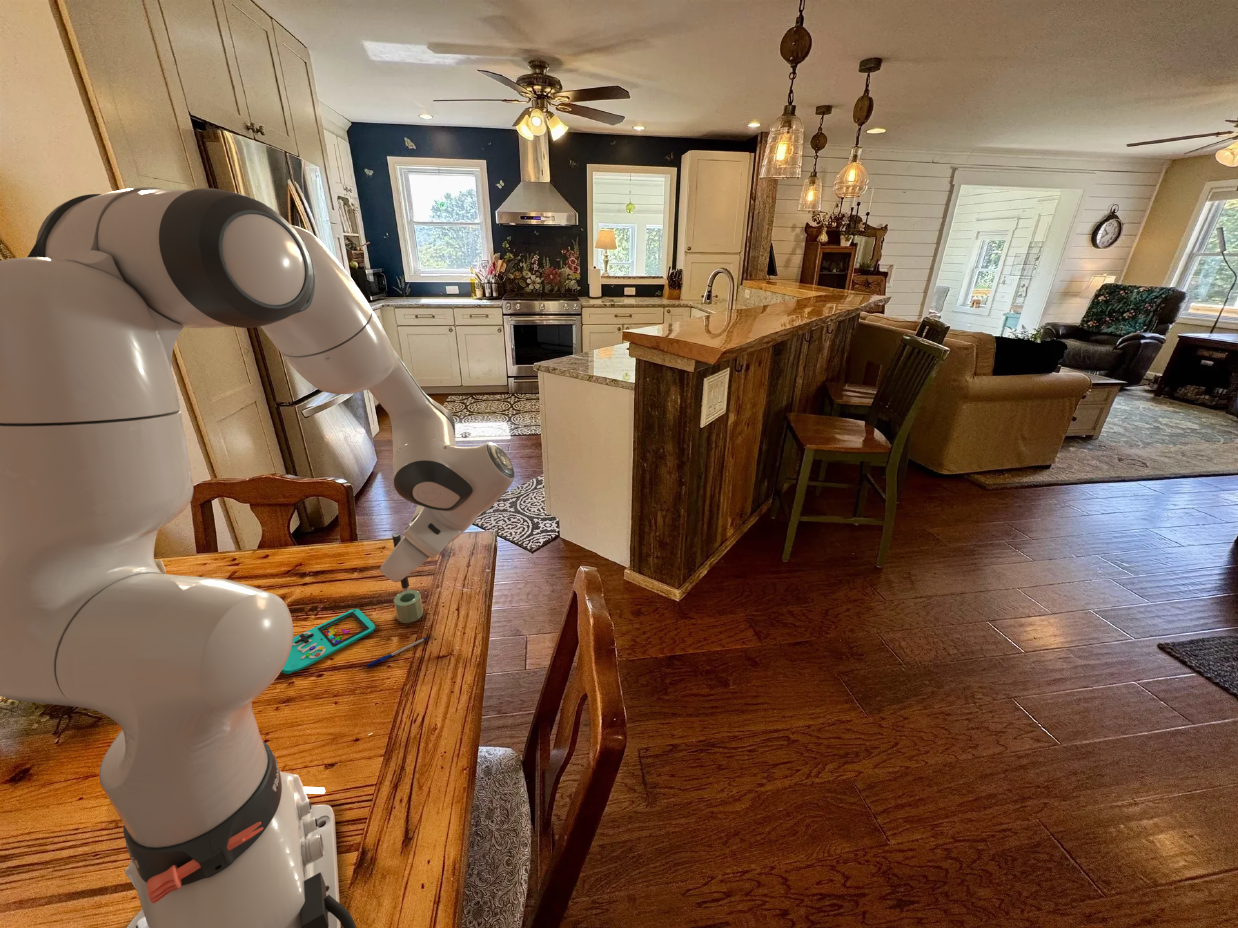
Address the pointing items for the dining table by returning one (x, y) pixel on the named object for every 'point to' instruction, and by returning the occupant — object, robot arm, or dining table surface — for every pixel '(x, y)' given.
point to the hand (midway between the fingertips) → (397, 559)
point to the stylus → (405, 581)
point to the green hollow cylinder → (408, 606)
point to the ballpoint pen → (393, 653)
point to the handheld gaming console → (323, 642)
